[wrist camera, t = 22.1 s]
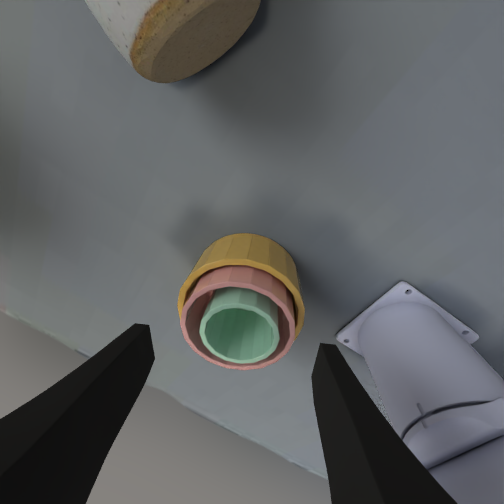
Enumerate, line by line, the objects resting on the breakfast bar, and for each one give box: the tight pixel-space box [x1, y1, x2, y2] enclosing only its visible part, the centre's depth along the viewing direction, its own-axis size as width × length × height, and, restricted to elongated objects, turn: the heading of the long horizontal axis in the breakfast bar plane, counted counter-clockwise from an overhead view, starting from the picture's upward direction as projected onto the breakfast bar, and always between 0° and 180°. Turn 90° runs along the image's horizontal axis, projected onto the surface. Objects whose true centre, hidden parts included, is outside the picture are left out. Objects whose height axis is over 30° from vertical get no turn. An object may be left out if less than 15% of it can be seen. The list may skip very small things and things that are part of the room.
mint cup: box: [199, 286, 280, 364], centre depth 18 cm, size 5×5×6 cm
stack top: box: [180, 265, 295, 370], centre depth 18 cm, size 8×8×6 cm
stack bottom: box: [177, 233, 305, 340], centre depth 19 cm, size 9×9×4 cm
